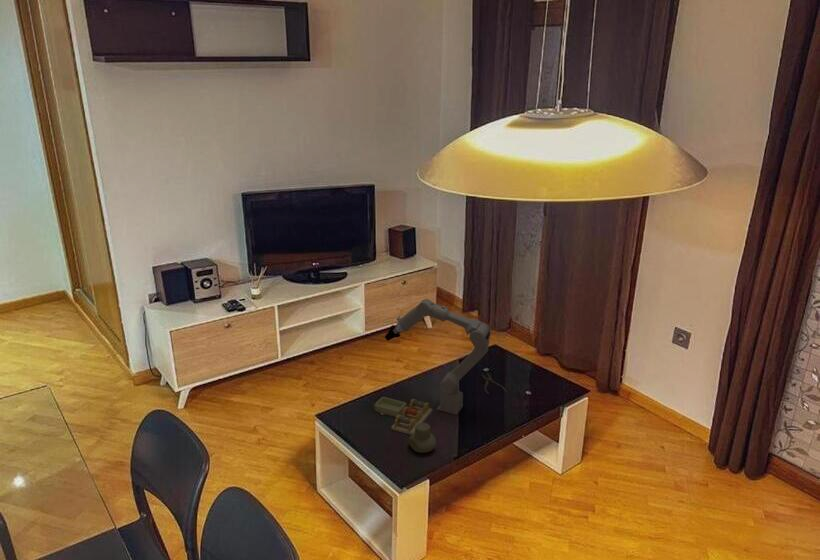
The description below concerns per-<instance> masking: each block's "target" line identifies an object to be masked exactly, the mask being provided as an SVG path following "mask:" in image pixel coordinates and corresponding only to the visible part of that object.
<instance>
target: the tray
mask: <svg viewBox="0 0 820 560" xmlns="http://www.w3.org/2000/svg"><path fill="white" fill-rule="evenodd" d="M404 407H408V403H407V402H405V401H402V400H398V399H393V398H389V397H387V396H383V395H382V396H381V398H379V399H378V400H377V401H376V402H375V403H374V405H373V412H375V413H380V414H382V415H386V416H391V417H395V418H396V416H397V415H402V412H403V408H404Z"/></svg>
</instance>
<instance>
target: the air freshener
mask: <svg viewBox="0 0 820 560" xmlns="http://www.w3.org/2000/svg"><path fill="white" fill-rule="evenodd" d="M408 443H409V446H410V448H411V449H412V450H413V451H415V452H417V453H421V454H423V453H428V452H431V451H433V450H434V448H436V446H437V440H436V438H435V436H434V434H432V433H431V425H430V424H429V423H426V422H423V423H418V424H417V425H416V426H415V433H413V434H412V435H410V436H409V438H408Z"/></svg>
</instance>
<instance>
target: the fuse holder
mask: <svg viewBox="0 0 820 560" xmlns="http://www.w3.org/2000/svg"><path fill="white" fill-rule="evenodd" d="M414 399H415V400H417V399H416V398H414ZM426 403H429V402H426ZM407 407H408V408H411V409H415V410H420V411H422V415H421V417H420V418H419V417H418V415H416V416H413V415H409V414H405V412H402V415H401V416H403V417H407V418H410V419H415V424H414V426H411V424H409V425H408V424H404V423H401V422H397V420H395V419H394V423H393V424H392V425H391V431H392V430H393V431H396V432H400V433H403V434H406V435H410V436H411V435H412V434H413V433H415V426H416V425H417V424H418V423H425V421H426V419H427V418H428V417H429V416H430V415H431V413H432V412H433V408H430V405H429V406H428V409H427V410H426V409H425V407H423V408H420V407H416V406H412V404H410V403H409V404H408V406H407Z"/></svg>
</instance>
